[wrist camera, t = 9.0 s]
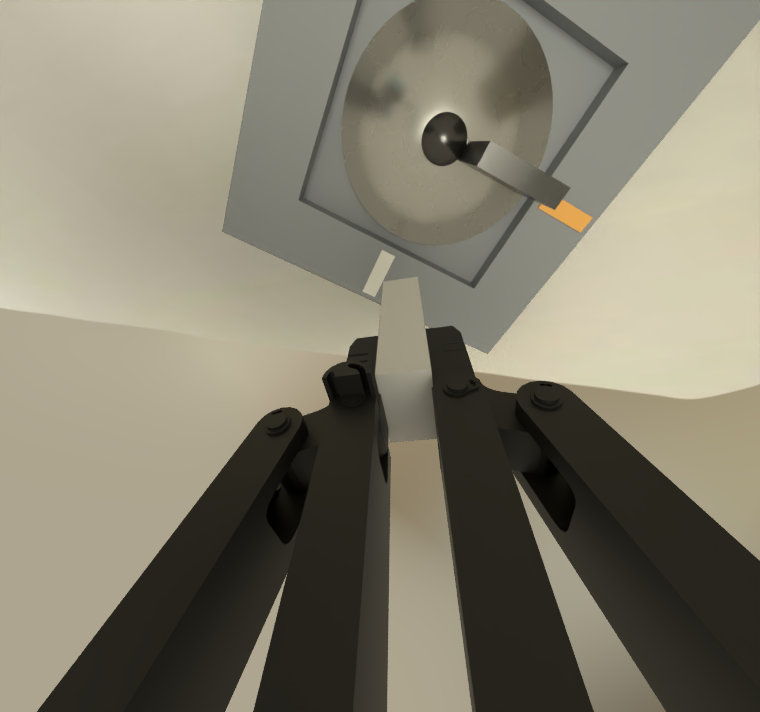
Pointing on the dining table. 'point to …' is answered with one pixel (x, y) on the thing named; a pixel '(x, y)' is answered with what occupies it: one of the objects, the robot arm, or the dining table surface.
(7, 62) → the dining table surface
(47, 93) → the dining table surface
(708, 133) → the dining table surface
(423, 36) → the dial
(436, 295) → the panel
